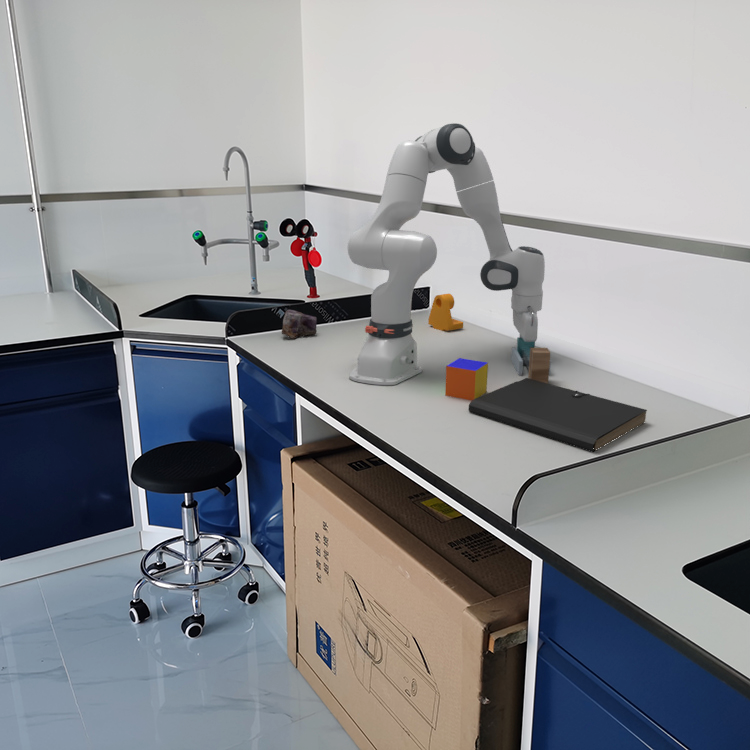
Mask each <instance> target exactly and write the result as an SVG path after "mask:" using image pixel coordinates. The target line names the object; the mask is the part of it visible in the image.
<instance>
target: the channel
mask: <svg viewBox="0 0 750 750" xmlns="http://www.w3.org/2000/svg"><path fill="white" fill-rule="evenodd" d="M510 358H511V359H510V361H511V363H512V365H513V367H514V369H515V371H516V373H517V375H518V376H523V368H524V367H527V366H526V364H525V362H524V360H523V359H522V358H521V357H520V355H519V353H518V351H517V347H514V346H512V347H511V356H510ZM550 371H551V365H550V366H549V376H550V375H551V374H550V373H551V372H550Z"/></svg>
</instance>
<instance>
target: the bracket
mask: <svg viewBox="0 0 750 750" xmlns="http://www.w3.org/2000/svg"><path fill="white" fill-rule="evenodd" d="M454 307H455V298H454V296H453V294H451V293H444V294H437V295H435V296H434V297H433V301H432V305H431V308H430V313H429V316H428V321H427V322H428V325H429V326H432V328H433V329H435V330H438V331H441V332H446V330H447V331H454V330H459V329H464V322H463V321H461V320H458V319H455V318H453V317H452V312H451V310H452V309H453V308H454Z"/></svg>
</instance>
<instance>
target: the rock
mask: <svg viewBox="0 0 750 750" xmlns="http://www.w3.org/2000/svg"><path fill="white" fill-rule="evenodd" d="M281 329H282V330H281V335H284V336H287V337H288V338H290V339H296V338H299V337H305V336H313V335H316V334H317V317H316V316H313V315H309V314H306V313H302V312H300V311H297V310H294V309H287V310H286V311H285V312H284V315H283V319H282V328H281Z"/></svg>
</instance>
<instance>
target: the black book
mask: <svg viewBox="0 0 750 750" xmlns="http://www.w3.org/2000/svg"><path fill="white" fill-rule="evenodd" d="M647 411H648V409H646V408H641V407H637V406H634V405H630V404H626V403H623V402H619V401H615V400H611V399H608V398H607V399H606V398H603V397H600V396H595V395H593V394H590V393H584V392H582V391H578V390H574V389H569V388H566V387H561V386H559V385H554V384H551V383H549V382H548V383H544V382H540V381H536V380H533V379H529V378H528V377H525V378H523V379H520V380H518V381H514V382H512V383H509V384H507V385H505V386H502V387H500V388H498V389H495V390H492V391H490V392H488V393H484V394H483V395H482V396H480V397H478V398H476V399H474V400H472V401H471V400H470V403H469V404H468V412H469V413H472V414H475V415H477V416H481V417H483V418H487V419H491V420H493V421H496V422H500V423H501V424H506V425H509V426H512V427H514V428H517V429H521V430H524V431H527V432H531V433H533V434H536V435H539V436H542V437H544V438H545V437H546V438H549V439H550V440H551V439H552V440H554V439H555V441H557V440H558V442H560V441H562V442H561V443H563V442H565V443H564V444H567V443H568V444H567V445H570V444H571V446H573V445H575V446H574V447H576V446H577V448H579V447H581V448H580V449H582V448H584V449H583V450H585V449H587V450H586V451H588V450H590V451H589V452H591V451H594V449H595V450H596V449H598V448H600V447H602V446H604V445H605V444H607V443H609V442H611V441H612V440H614V439H616V438H618V437H619V436H621V435H623V434H625V433H626V432H628V431H630V430H631V429H633V428H635V427H637V426H639V425H641V424H642V423H644V422H645V423H646V418H647V417H646V416H647ZM645 423H644V424H645ZM642 425H643V424H642ZM642 425H641V426H642ZM639 427H640V426H639ZM637 428H638V427H637ZM635 429H636V428H635ZM630 432H631V431H630ZM625 435H626V434H625ZM623 436H624V435H623ZM618 439H619V438H618ZM616 440H617V439H616ZM611 443H612V442H611ZM609 444H610V443H609ZM604 447H605V446H604ZM593 448H594V449H593ZM602 448H603V447H602ZM600 449H601V448H600Z"/></svg>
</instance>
